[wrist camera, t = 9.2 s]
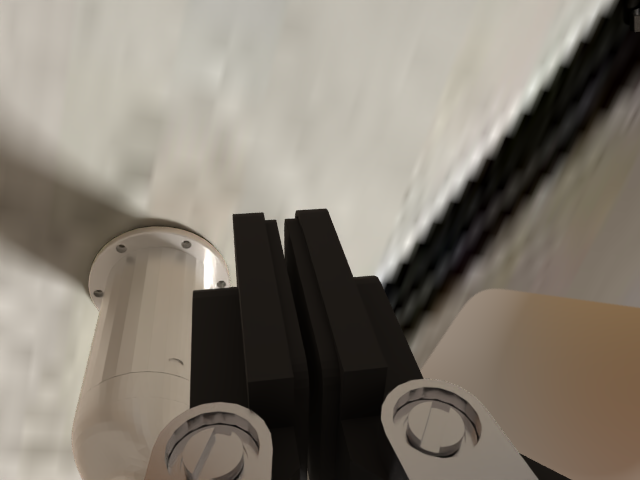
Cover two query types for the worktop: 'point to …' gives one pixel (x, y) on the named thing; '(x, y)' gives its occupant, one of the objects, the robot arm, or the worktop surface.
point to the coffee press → (635, 20)
